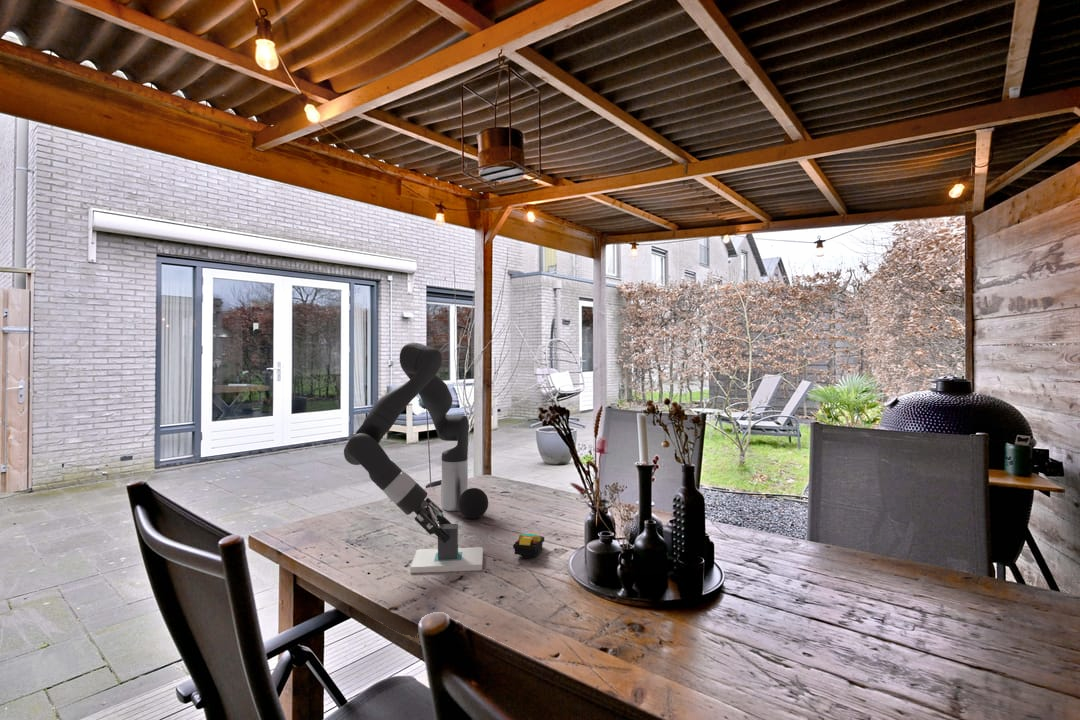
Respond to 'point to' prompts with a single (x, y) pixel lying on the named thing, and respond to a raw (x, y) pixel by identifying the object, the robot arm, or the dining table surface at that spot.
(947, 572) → the dining table surface
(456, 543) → the block
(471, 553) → the board
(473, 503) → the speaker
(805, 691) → the dining table surface
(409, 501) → the robot arm
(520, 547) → the black bowl with blocks
